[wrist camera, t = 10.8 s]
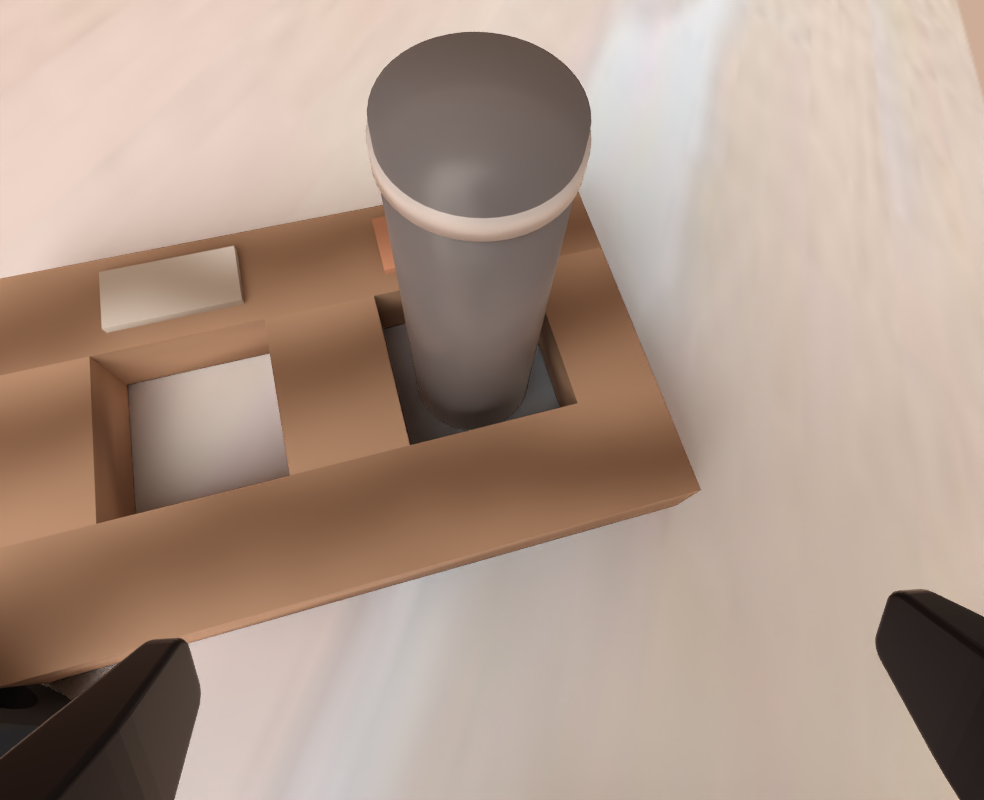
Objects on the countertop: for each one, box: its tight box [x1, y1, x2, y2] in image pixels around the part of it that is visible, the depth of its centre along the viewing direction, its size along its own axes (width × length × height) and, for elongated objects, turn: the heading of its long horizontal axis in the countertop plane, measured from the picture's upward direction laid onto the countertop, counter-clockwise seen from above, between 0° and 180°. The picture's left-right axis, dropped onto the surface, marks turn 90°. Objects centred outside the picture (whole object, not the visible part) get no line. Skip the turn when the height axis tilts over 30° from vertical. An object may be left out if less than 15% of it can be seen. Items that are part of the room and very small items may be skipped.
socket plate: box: [0, 192, 701, 688], centre depth 22 cm, size 14×22×3 cm, turn 106°
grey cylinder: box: [366, 32, 591, 430], centre depth 18 cm, size 5×5×13 cm
